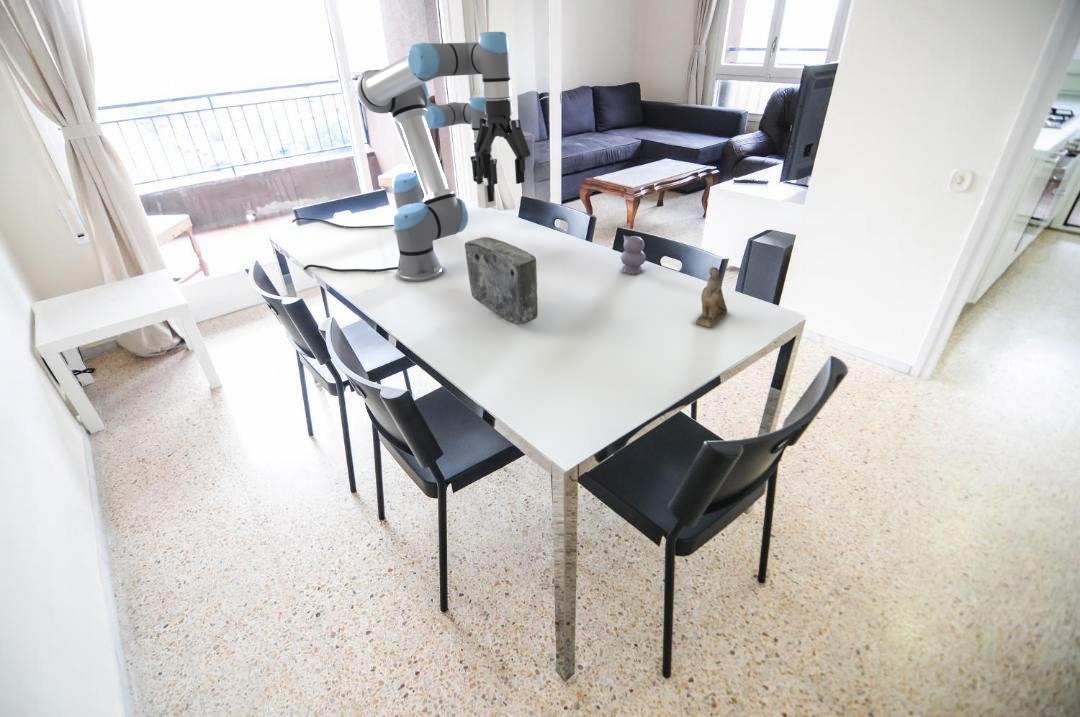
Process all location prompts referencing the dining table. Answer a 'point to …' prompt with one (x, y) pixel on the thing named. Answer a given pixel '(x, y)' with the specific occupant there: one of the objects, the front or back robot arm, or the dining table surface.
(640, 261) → the cat figurine
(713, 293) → the brown carved statuette
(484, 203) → the white rectangular block
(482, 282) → the concrete block
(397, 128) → the back robot arm
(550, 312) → the dining table surface
